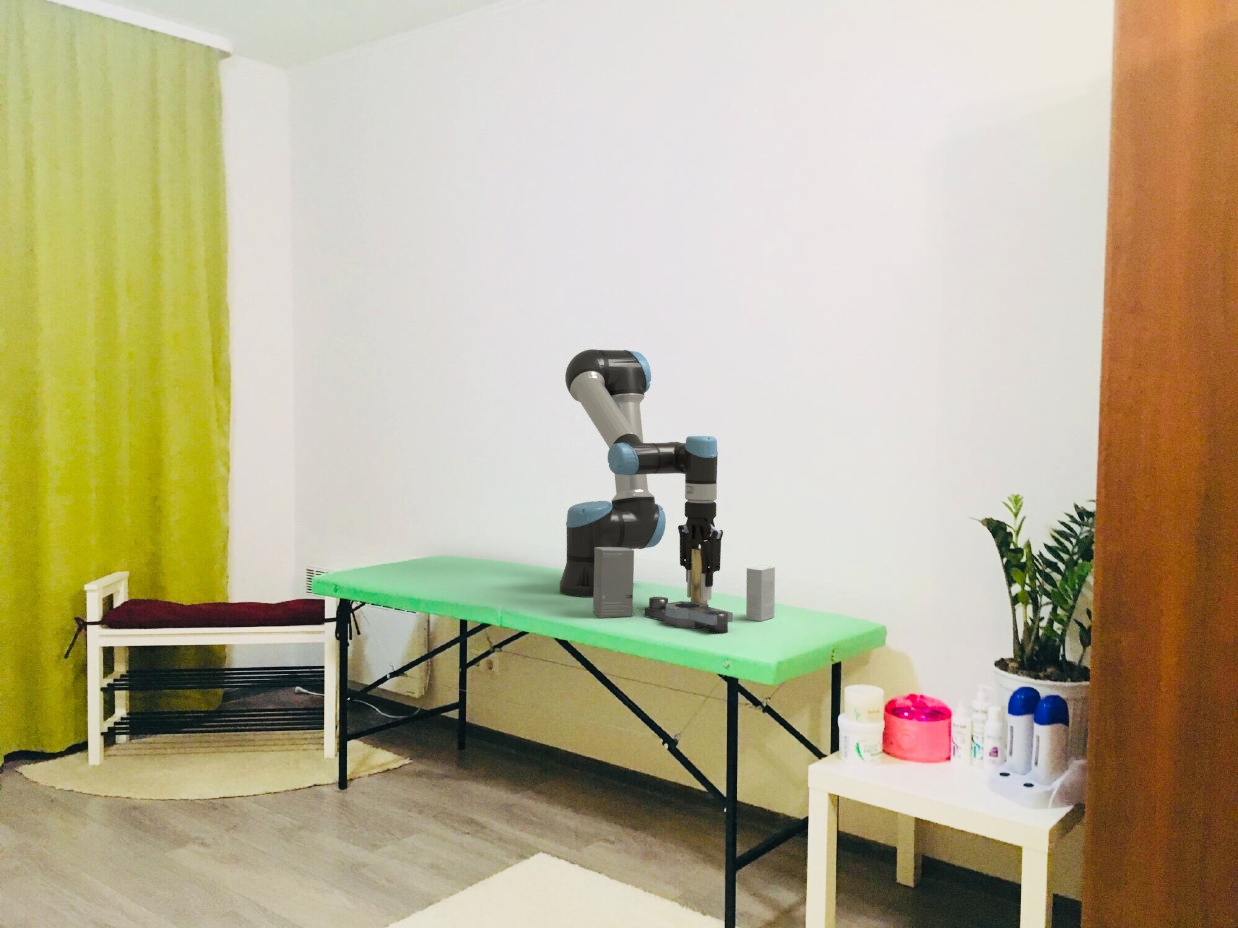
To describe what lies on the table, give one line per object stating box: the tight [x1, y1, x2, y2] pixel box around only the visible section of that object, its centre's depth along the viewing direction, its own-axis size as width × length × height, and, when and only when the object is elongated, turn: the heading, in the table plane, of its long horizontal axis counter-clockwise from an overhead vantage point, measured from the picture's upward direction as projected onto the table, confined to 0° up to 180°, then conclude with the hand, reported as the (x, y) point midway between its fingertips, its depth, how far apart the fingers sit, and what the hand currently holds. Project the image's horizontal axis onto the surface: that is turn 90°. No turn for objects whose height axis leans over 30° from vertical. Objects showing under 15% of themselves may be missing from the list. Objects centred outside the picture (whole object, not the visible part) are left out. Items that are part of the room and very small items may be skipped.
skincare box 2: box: [745, 564, 776, 622], centre depth 237 cm, size 6×4×12 cm
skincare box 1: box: [592, 547, 635, 619], centre depth 239 cm, size 8×7×16 cm
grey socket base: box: [644, 596, 734, 635], centre depth 231 cm, size 24×10×4 cm, turn 38°
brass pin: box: [690, 547, 709, 604], centre depth 244 cm, size 4×4×15 cm
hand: (699, 598), depth 244 cm, fingers open, 4 cm apart
